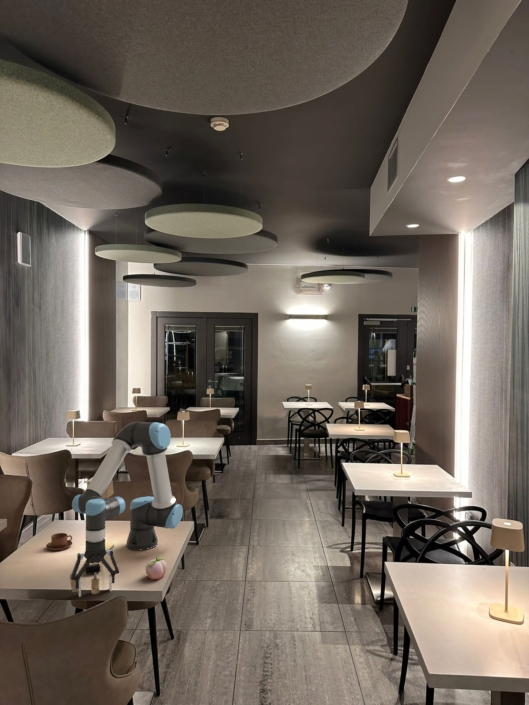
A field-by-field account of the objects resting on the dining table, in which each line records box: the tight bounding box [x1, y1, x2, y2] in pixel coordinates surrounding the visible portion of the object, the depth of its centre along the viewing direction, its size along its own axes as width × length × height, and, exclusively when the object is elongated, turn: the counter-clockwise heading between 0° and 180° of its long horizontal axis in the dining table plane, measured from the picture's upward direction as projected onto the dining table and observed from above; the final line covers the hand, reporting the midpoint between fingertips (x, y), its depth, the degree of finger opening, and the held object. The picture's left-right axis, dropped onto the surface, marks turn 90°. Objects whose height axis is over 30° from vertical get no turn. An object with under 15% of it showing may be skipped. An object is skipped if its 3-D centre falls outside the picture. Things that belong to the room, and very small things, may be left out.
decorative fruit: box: [145, 557, 168, 580], centre depth 232 cm, size 9×8×10 cm
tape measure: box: [84, 563, 102, 575], centre depth 238 cm, size 7×7×4 cm
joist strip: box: [69, 573, 79, 593], centre depth 227 cm, size 3×18×1 cm, turn 22°
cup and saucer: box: [45, 532, 73, 551], centre depth 269 cm, size 12×12×6 cm
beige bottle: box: [90, 572, 100, 595], centre depth 218 cm, size 3×3×9 cm
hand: (95, 593), depth 218 cm, fingers open, 11 cm apart
